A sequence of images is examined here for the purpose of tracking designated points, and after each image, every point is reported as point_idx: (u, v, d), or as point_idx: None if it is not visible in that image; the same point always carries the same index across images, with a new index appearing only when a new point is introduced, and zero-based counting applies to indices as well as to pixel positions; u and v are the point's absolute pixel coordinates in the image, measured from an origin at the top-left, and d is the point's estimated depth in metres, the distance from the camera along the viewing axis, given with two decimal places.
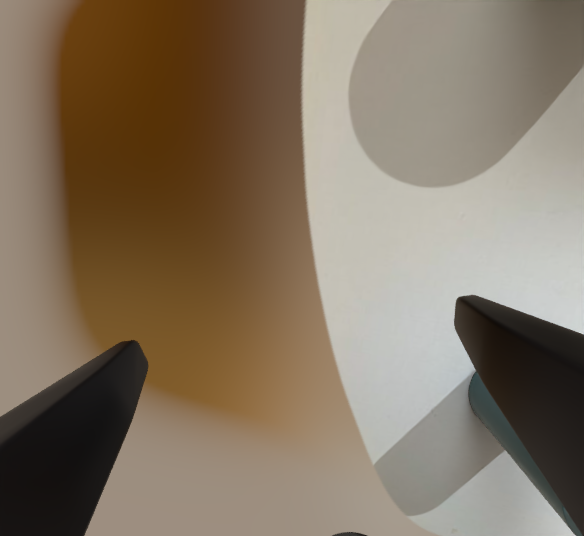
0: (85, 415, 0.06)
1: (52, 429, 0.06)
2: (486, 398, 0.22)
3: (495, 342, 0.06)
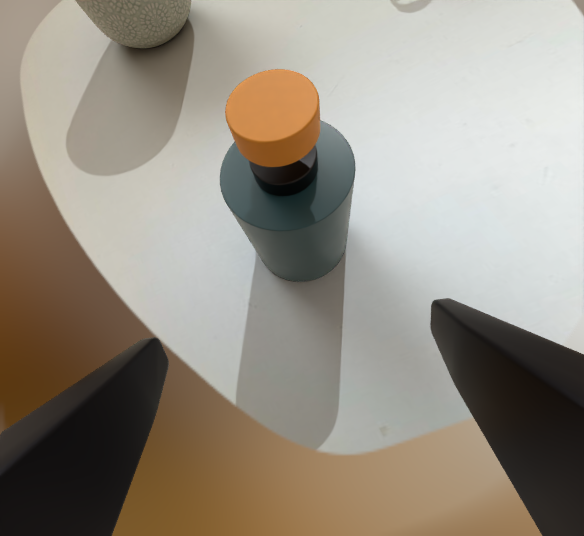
0: (112, 412, 0.06)
1: (82, 426, 0.06)
2: None
3: (465, 346, 0.06)
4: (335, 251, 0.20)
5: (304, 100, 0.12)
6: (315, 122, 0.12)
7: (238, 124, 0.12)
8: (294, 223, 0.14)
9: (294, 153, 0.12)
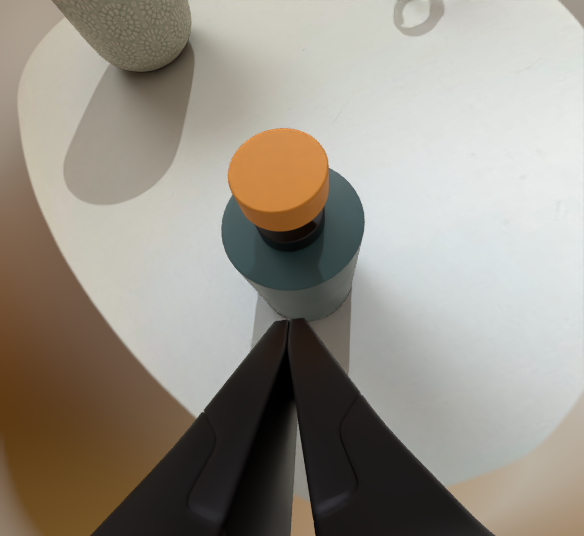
0: (284, 392, 0.06)
1: (275, 404, 0.05)
2: None
3: None
4: (341, 295, 0.19)
5: (312, 165, 0.11)
6: (324, 189, 0.11)
7: (242, 191, 0.11)
8: (301, 281, 0.14)
9: (302, 219, 0.11)
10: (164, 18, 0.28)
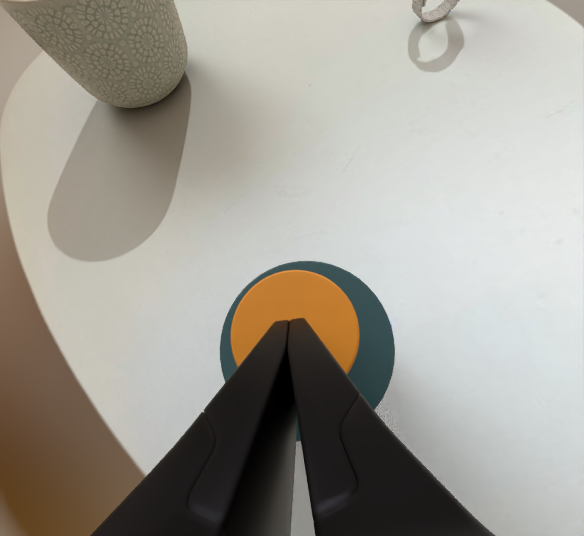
0: (284, 392, 0.06)
1: (275, 404, 0.05)
2: None
3: None
4: None
5: (339, 330, 0.08)
6: (354, 360, 0.08)
7: None
8: None
9: None
10: (157, 55, 0.25)
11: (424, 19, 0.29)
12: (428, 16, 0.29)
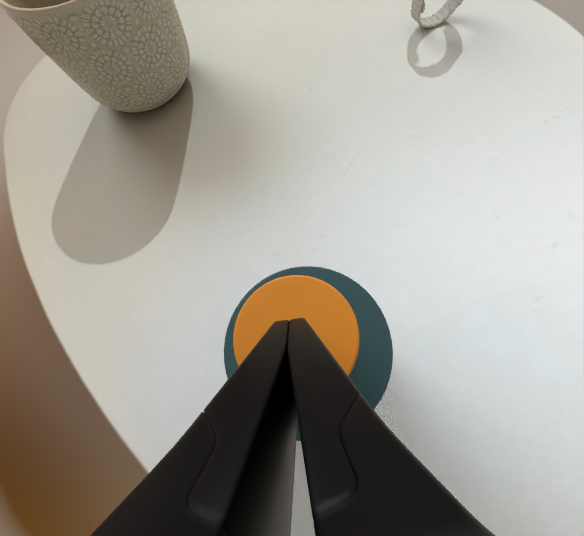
0: (284, 392, 0.06)
1: (275, 404, 0.05)
2: None
3: None
4: None
5: (339, 334, 0.09)
6: (354, 363, 0.09)
7: None
8: None
9: None
10: (159, 61, 0.26)
11: (423, 25, 0.29)
12: (427, 22, 0.30)
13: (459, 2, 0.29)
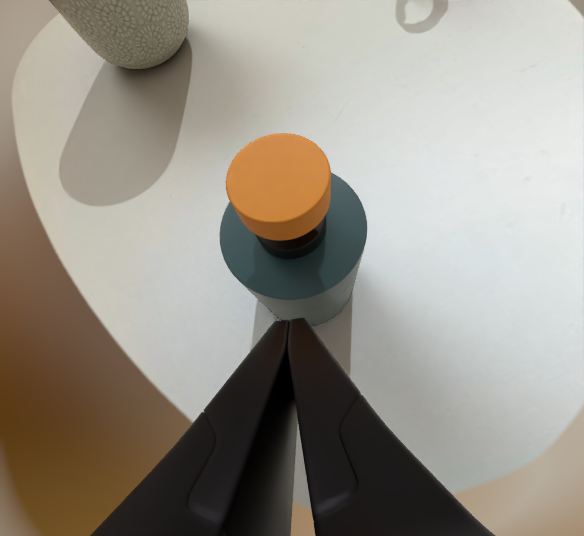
0: (284, 392, 0.06)
1: (275, 404, 0.05)
2: None
3: None
4: (343, 301, 0.19)
5: (314, 172, 0.10)
6: (326, 197, 0.10)
7: (240, 199, 0.10)
8: (301, 290, 0.13)
9: (303, 228, 0.11)
10: (160, 14, 0.27)
11: None
12: None
13: None
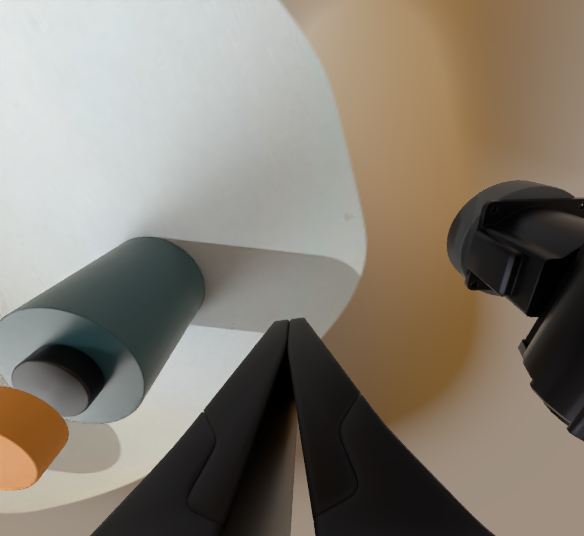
0: (284, 392, 0.06)
1: (275, 404, 0.05)
2: None
3: None
4: (164, 271, 0.18)
5: None
6: None
7: (21, 482, 0.11)
8: (132, 366, 0.14)
9: (42, 421, 0.11)
10: None
11: None
12: None
13: None
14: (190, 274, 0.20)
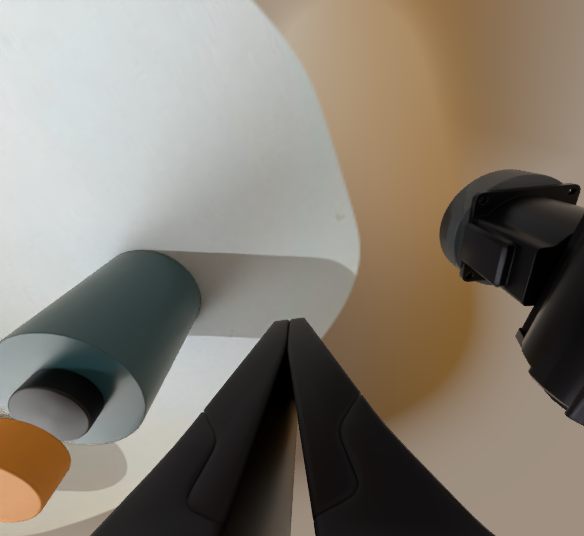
0: (284, 392, 0.06)
1: (275, 404, 0.05)
2: None
3: None
4: (158, 284, 0.18)
5: None
6: None
7: (25, 514, 0.11)
8: (131, 385, 0.13)
9: (42, 450, 0.10)
10: None
11: None
12: None
13: None
14: (184, 285, 0.20)
